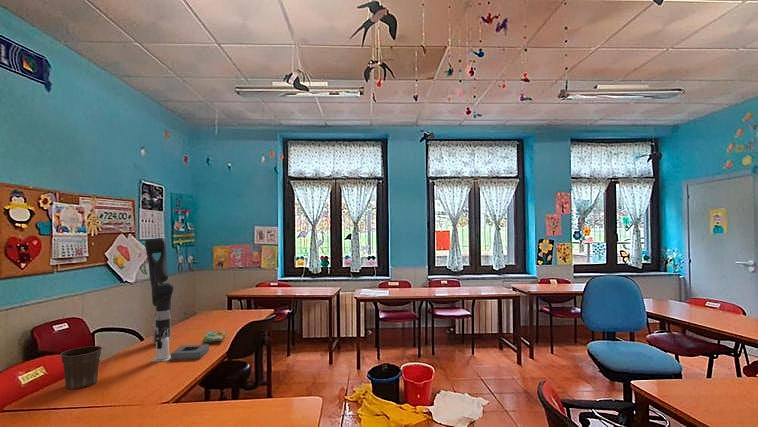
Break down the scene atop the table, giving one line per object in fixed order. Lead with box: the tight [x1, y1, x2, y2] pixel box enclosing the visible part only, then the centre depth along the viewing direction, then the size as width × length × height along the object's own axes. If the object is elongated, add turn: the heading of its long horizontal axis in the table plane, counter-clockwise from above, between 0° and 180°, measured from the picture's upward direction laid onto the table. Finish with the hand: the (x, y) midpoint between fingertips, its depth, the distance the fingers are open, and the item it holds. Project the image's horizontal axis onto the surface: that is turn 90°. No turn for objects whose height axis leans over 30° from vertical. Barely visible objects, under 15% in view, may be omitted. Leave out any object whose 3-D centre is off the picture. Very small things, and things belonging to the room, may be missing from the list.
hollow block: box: [170, 343, 210, 362], centre depth 234 cm, size 16×16×4 cm
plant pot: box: [59, 345, 103, 390], centre depth 191 cm, size 16×16×16 cm
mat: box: [150, 355, 171, 363], centre depth 228 cm, size 9×9×1 cm
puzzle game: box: [201, 330, 227, 345], centre depth 266 cm, size 12×5×20 cm
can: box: [155, 336, 170, 360], centre depth 229 cm, size 6×6×12 cm
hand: (162, 346), depth 228 cm, fingers open, 8 cm apart
